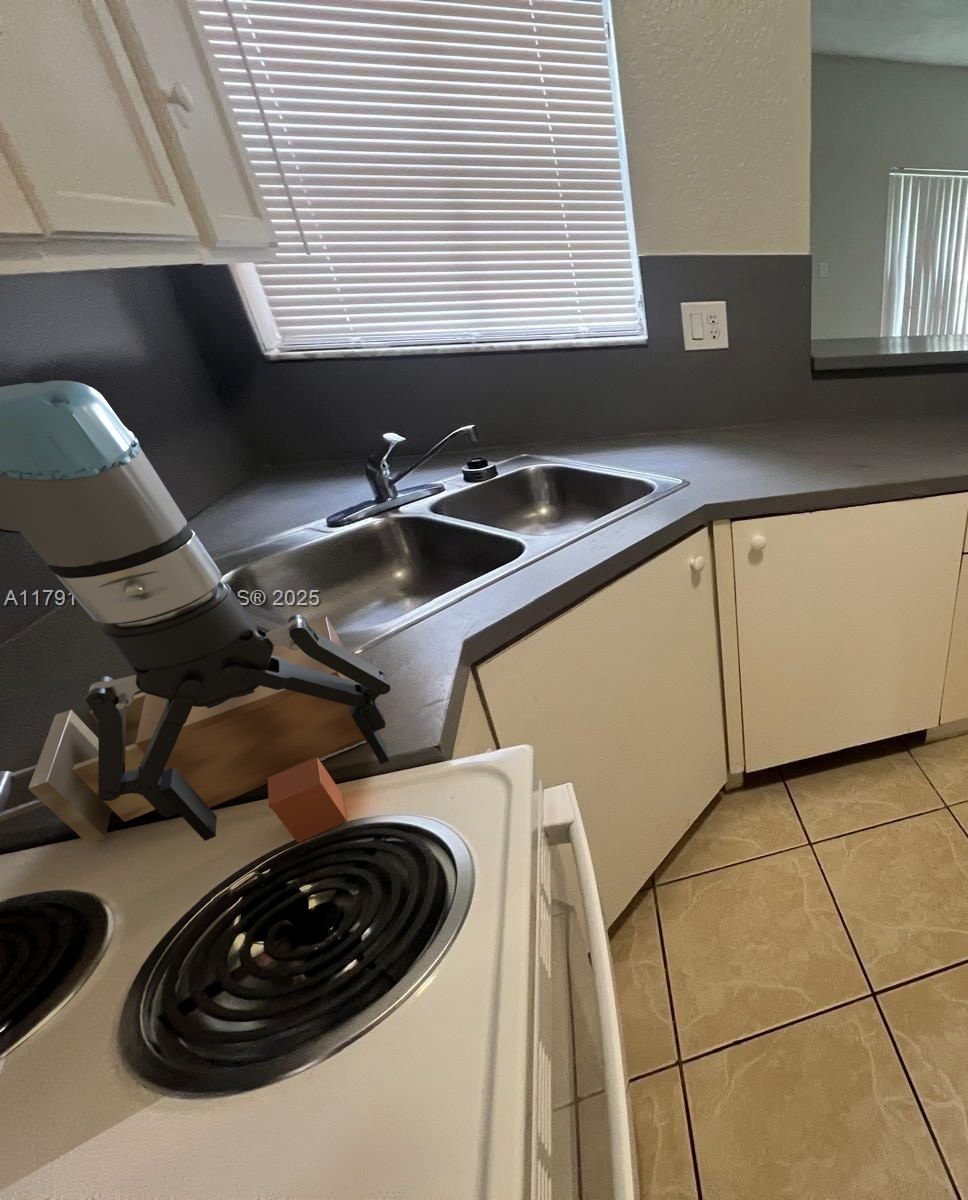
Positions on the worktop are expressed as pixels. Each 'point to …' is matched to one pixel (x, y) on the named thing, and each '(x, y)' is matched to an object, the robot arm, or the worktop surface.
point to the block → (306, 800)
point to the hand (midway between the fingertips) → (302, 789)
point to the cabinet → (255, 732)
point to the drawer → (78, 776)
